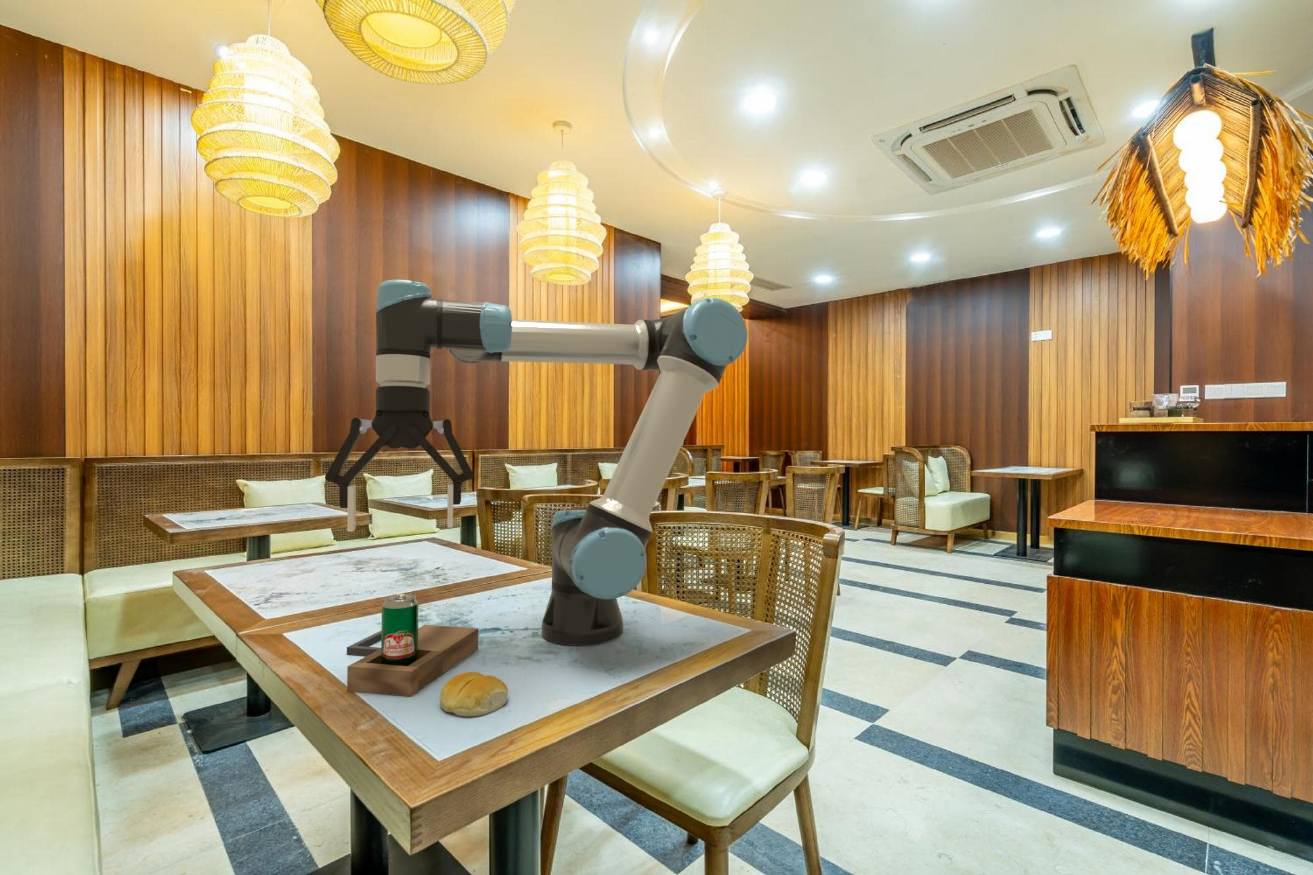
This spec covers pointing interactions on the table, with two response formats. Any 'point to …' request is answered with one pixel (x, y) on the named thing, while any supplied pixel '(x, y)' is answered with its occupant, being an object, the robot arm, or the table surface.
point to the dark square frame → (364, 646)
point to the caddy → (434, 659)
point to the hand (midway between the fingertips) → (402, 528)
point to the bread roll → (473, 694)
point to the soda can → (399, 630)
